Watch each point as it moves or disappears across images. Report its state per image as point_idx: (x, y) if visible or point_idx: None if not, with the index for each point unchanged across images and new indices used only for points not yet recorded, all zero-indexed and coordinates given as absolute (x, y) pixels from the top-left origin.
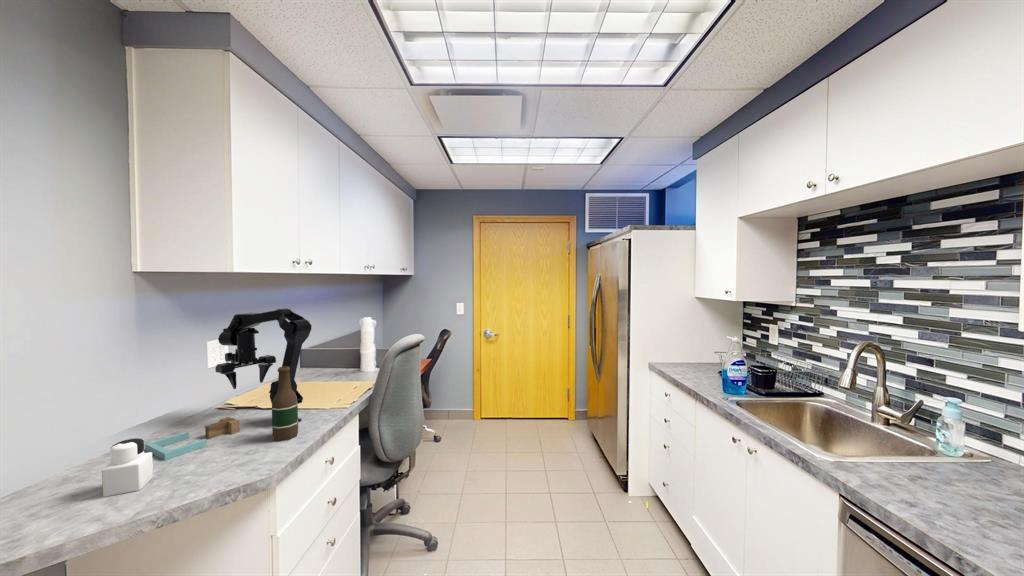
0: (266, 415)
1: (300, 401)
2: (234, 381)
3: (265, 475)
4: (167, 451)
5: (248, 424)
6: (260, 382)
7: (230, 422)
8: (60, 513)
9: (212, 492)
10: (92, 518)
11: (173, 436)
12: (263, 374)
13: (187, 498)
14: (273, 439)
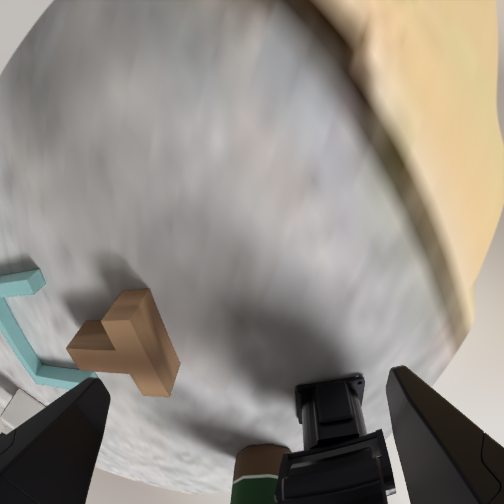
0: (328, 268)
1: (380, 455)
2: (77, 479)
3: (191, 493)
4: (35, 378)
5: (222, 321)
6: (389, 376)
7: (139, 389)
8: (5, 399)
9: (135, 479)
10: None
11: (9, 291)
12: (411, 497)
13: (112, 470)
14: (237, 455)
